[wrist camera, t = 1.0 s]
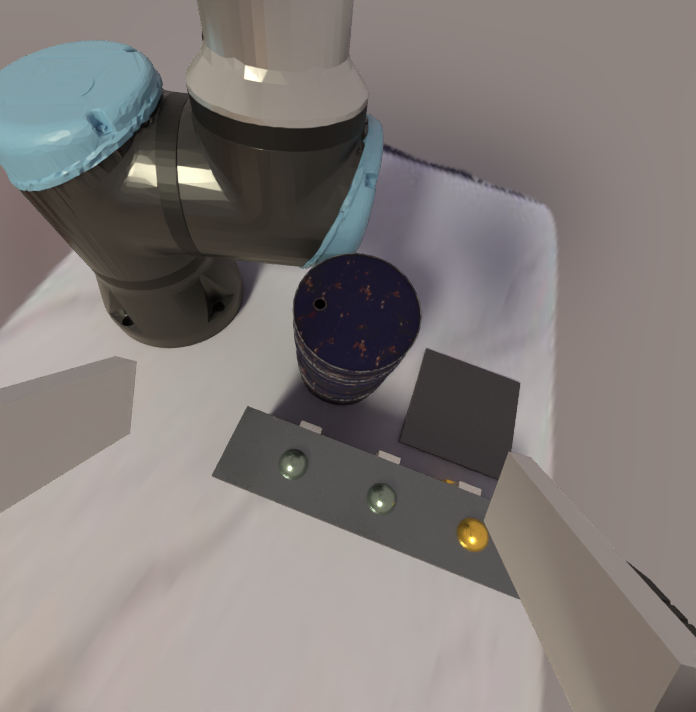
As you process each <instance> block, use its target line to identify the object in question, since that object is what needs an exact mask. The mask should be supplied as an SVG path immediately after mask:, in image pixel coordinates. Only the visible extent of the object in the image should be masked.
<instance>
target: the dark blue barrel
mask: <svg viewBox="0 0 696 712" xmlns="http://www.w3.org/2000/svg"><path fill="white" fill-rule="evenodd" d="M420 325H421V307H420V302H419V298H418V296H417V293H416V291H415V289H414V287H413V285H412V284H411V282H410V281H409V280H408V278H407V277H406V276H405V275H404V274H403V273H402V272H401V271H400V270H399V269H397V268H396V267H395V266H393V265H392V264H390V263H388V262H387V261H385V260H383V259H380V258H378V257H375V256H371V255H367V254H359V253H348V254H341V255H336V256H333V257H330V258H327V259H325V260H323V261H322V262H320V263H318V264H317V265H315V266H314V267H313V268H311V269H310V271H309V272H308V273H307V274H306V275H305V276H304V277H303V279H302V280H301V282H300V283H299V286H298V288H297V290H296V293H295V297H294V301H293V329H294V339H295V344H296V348H297V351H296V353H297V361H298V366H299V370H300V373H301V376H302V379H303V381H304V383H305V385H306V386H307V388H308V389H309V390H310V391H311V393H312V394H314V395H315V396H316V397H317V398H319V399H321V400H322V401H324V402H327V403H330V404H334V405H350V404H354V403H357V402H359V401H361V400H363V399H365V398H366V397H368V396H369V395H370V394H371V393H373V392H374V391H375V390H376V389H377V388H378V387H379V386H380V384H381V383H382V382H383V381H384V380H385V378H386V377H387V376H388V375H389V374H390V373H391V372H392V371H393V370H394V369H395V368H396V367H397V366H398V365H399V363H400V362H401V361H402V360H403V358H404V357H405V355H406V353H407V352H408V351H409V350H410V348H411V347H412V346H413V344H414V342H415V340H416V338H417V336H418V333H419V330H420Z"/></svg>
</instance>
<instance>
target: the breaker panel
mask: <svg viewBox="0 0 696 712" xmlns="http://www.w3.org/2000/svg"><path fill="white" fill-rule="evenodd" d="M519 390H520V383H518V382H516V381H513V380H510V379H507V378H505V377H502V376H499V375H496V374H494V373H491V372H488V371H485V370H483V369H480V368H477V367H474V366H472V365H469V364H466V363H463V362H461V361H458V360H455V359H453V358H450V357H447V356H444V355H442V354H439V353H436V352H433V351H431V350H428V349H426V350H425V354H424V357H423V361H422V364H421V368H420V371H419V375H418V378H417V381H416V385H415V388H414V392H413V395H412V399H411V402H410V406H409V409H408V413H407V416H406V420H405V423H404V427H403V430H402V434H401V437H400V441H399V442H401V443H404V444H406V445H409V446H412V447H414V448H417V449H420V450H422V451H425V452H427V453H430V454H433V455H435V456H438V457H440V458H443V459H446V460H448V461H451V462H454V463H456V464H459V465H461V466H464V467H467V468H469V469H472V470H474V471H477V472H480V473H482V474H485V475H488V476H490V477H493V478H495V479H498V480H499V477H500V474H501V472H502V469H503V466H504V463H505V461H506V458H507V455H508V452H511V449H512V441H513V434H514V427H515V419H516V412H517V404H518V397H519ZM321 434H322V428H321V427H318V426H316V425H313V424H310V423H308V422H305V421H303V420H302V421H301V423H300V426H298V425H295V424H293V423H290V422H287V421H285V420H282V419H280V418H277V417H275V416H272V415H269V414H267V413H264V412H262V411H259V410H256V409H254V408H251V407H249V406H247V408H246V410H245V412H244V414H243V416H242V418H241V420H240V422H239V424H238V425H237V427H236V429H235V431H234V433H233V435H232V437H231V439H230V441H229V443H228V445H227V447H226V449H225V451H224V453H223V455H222V457H221V459H220V461H219V463H218V464H217V466H216V468H215V470H214V472H213V474H212V476H213V477H215V478H217V479H220V480H222V481H224V482H227V483H229V484H232V485H234V486H236V487H239V488H241V489H244V490H246V491H249V492H251V493H254V494H256V495H259V496H261V497H264V498H266V499H269V500H271V501H274V502H276V503H279V504H281V505H284V506H286V507H289V508H291V509H294V510H296V511H299V512H301V513H304V514H306V515H309V516H311V517H314V518H316V519H319V520H321V521H324V522H326V523H329V524H331V525H334V526H336V527H339V528H341V529H344V530H346V531H349V532H351V533H354V534H356V535H359V536H361V537H364V538H366V539H369V540H371V541H374V542H376V543H379V544H381V545H384V546H386V547H389V548H391V549H394V550H396V551H399V552H401V553H404V554H406V555H409V556H411V557H414V558H416V559H419V560H421V561H424V562H426V563H429V564H431V565H434V566H436V567H439V568H441V569H444V570H446V571H449V572H451V573H454V574H456V575H459V576H461V577H464V578H466V579H469V580H471V581H474V582H476V583H479V584H481V585H484V586H486V587H489V588H491V589H494V590H497V591H499V592H502V593H504V594H507V595H509V596H512V597H515V598H517V599H520V597H519V595H518V593H517V591H516V589H515V587H514V585H513V582H512V580H511V578H510V576H509V574H508V572H507V570H506V568H505V565H504V563H503V561H502V559H501V557H500V555H499V553H498V551H497V548H496V546H495V544H494V542H493V540H492V538H491V536H490V533H489V531H488V529H487V527H486V525H485V523H484V518H485V516H486V513H487V510H488V507H489V505H490V502H491V500H490V499H487V498H485V497H482V496H481V490H482V489H479V488H477V487H474V486H472V485H469V484H466V483H464V482H461V481H458V482H453V481H451V480H448V479H446V480H442V481H440V480H438V479H435V478H433V477H430V476H427V475H425V474H422V473H420V472H417V471H415V470H412V469H409V468H407V467H404V466H402V465H399V464H400V460H401V458H399V457H396V456H394V455H391V454H388V453H386V452H383V451H381V450H379V451H378V452H377V453H376V454H375V455H373V454H370V453H368V452H365V451H363V450H360V449H357V448H355V447H352V446H350V445H347V444H345V443H342V442H339V441H337V440H334V439H332V438H329V437H326V436H324V435H321Z"/></svg>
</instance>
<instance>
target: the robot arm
mask: <svg viewBox="0 0 696 712" xmlns="http://www.w3.org/2000/svg"><path fill="white" fill-rule="evenodd" d="M353 2H354V0H197V4H198V10H199V15H200V21H201V26H202V32H203V37H204V39H203V43H202V46H201V48H200V50H199V51H198V53H197V54H196V56H195V57H194V59H193V60H192V62H191V63H190V65H189V66H188V68H187V70H186V72H185V80H186V87H187V91H188V94H187V93H179V92H172V91H167V90H164V89H163V88H162V85H163V83H162V79H161V76H160V74H159V73H158V71H157V70H155V68H154V66H153V64H152V63H151V61H150V60H149V59H148V58H147V57H146V56H145V55H144V54H143V53H141V52H138V51H137V50H136V49H134V48H132V47H131V46H129V45H126V44H122V43H118V42H112V41H104V40H102V41H100V40H96V41H95V40H94V41H93V40H92V41H78V42H71V43H65V44H60V45H56V46H52V47H49V48H45V49H42V50H39V51H37V52H34V53H32V54H29V55H26V56H24V57H22V58H20V59H18V60H16V61H14V62H13V63H11V64H9V65H8V66H6V67H5V68H3V69H2V70H0V165H1V166H2V167H3V168H4V169H5V171H6V172H7V176H8V178H9V179H10V182H11V183H12V184H13V185H14V186H15V187H16V188H17V189H19V190H20V191H21V192H22V193H23V195H24V196H25V197H26V198H27V199H28V200H29V201H30V202H31V203H32V204H33V206H34V207H35V208H36V209H37V210H38V211H39V212H40V213H41V214H42V215H43V216H44V218H45V219H46V220H47V221H48V222H49V223H50V224H51V225H52V226H53V227H54V228H55V230H56V231H57V232H58V233H59V234H60V235H61V236H62V237H63V238H64V240H65V241H66V242H67V243H68V244H69V245H70V246H71V247H72V248H73V249H74V251H75V252H76V253H77V254H78V255H79V256H80V257H81V258H82V259H83V260H84V262H85V263H86V264H87V265H88V266H89V267H90V268H91V269H92V270H93V271H94V273H95V275H96V278H97V282H98V285H99V288H100V292H101V295H102V299H103V302H104V305H105V308H106V310H107V312H108V313H109V315H110V317H111V318H112V319H113V321H114V322H115V323H116V324H117V325H118V326H119V327H120V328H121V329H122V330H123V331H124V332H125V333H126V334H127V335H129V336H130V337H132V338H133V339H135V340H137V341H139V342H141V343H143V344H146V345H150V346H154V347H161V348H178V347H185V346H190V345H193V344H196V343H199V342H202V341H204V340H206V339H208V338H210V337H212V336H214V335H215V334H217V333H218V332H220V331H221V330H222V329H223V328H225V327H226V326H227V325H228V324H229V323H230V321H231V320H232V319H233V318H234V316H235V315H236V313H237V311H238V310H239V307H240V305H241V302H242V298H243V283H242V278H241V275H240V271H239V268H238V266H237V263H236V262H235V260H240V261H250V262H260V263H270V264H279V265H289V266H299V267H300V268H303V269H304V268H309V267H311V266H312V267H314V266H315V265H317V264H318V263H320V262H322V261H323V260H325V259H327V258H330V257H333V256H336V255H341V254H348V253H356V252H357V250H358V248H359V246H360V244H361V241H362V239H363V236H364V233H365V230H366V227H367V224H368V221H369V217H370V214H371V210H372V206H373V202H374V197H375V193H376V190H375V184H376V182H377V179H378V175H379V171H380V167H381V161H382V153H383V128H382V124H381V122H380V121H379V120H377V119H375V118H374V117H373V116H372V115H371V114H366V112H367V104H368V96H369V91H368V87H367V84H366V82H365V81H364V79H363V78H362V76H361V74H360V73H359V71H358V69H357V68H356V66H355V64H354V63H353V61H352V60H351V57H350V54H349V49H350V38H351V26H352V15H353ZM136 364H137V361H133V360H129V359H124V358H120V357H116V356H115V357H111V358H108V359H104V360H101V361H97V362H94V363H90V364H87V365H83V366H79V367H76V368H72V369H69V370H65V371H62V372H58V373H54V374H51V375H47V376H44V377H40V378H37V379H33V380H30V381H26V382H22V383H19V384H15V385H12V386H8V387H5V388H1V389H0V513H1V512H3V511H4V510H6V509H8V508H9V507H11V506H12V505H14V504H16V503H17V502H19V501H21V500H22V499H24V498H25V497H27V496H29V495H30V494H32V493H34V492H35V491H37V490H38V489H40V488H42V487H43V486H45V485H47V484H48V483H50V482H51V481H53V480H55V479H56V478H58V477H60V476H61V475H63V474H64V473H66V472H68V471H69V470H71V469H73V468H74V467H76V466H77V465H79V464H81V463H82V462H84V461H86V460H87V459H89V458H90V457H92V456H94V455H95V454H97V453H99V452H100V451H102V450H103V449H105V448H107V447H108V446H110V445H112V444H113V443H115V442H117V441H118V440H120V439H121V438H123V437H125V436H126V435H128V434H130V427H131V416H132V406H133V395H134V385H135V374H136ZM484 523H485V525H486V527H487V529H488V531H489V533H490V536H491V538H492V540H493V542H494V544H495V546H496V548H497V551H498V553H499V555H500V557H501V559H502V561H503V563H504V565H505V568H506V570H507V572H508V574H509V576H510V578H511V580H512V582H513V585H514V587H515V589H516V591H517V593H518V595H519V597H520V600H521V602H522V604H523V606H524V608H525V610H526V612H527V614H528V617H529V619H530V621H531V623H532V625H533V627H534V629H535V632H536V634H537V636H538V638H539V640H540V642H541V644H542V646H543V649H544V651H545V653H546V655H547V657H548V659H549V661H550V663H551V666H552V668H553V670H554V672H555V674H556V676H557V678H558V681H559V683H560V685H561V687H562V689H563V691H564V693H565V695H566V698H567V700H568V702H569V704H570V706H571V708H572V710H573V712H696V628H695V627H694V626H693V625H691V624H688V620H687V618H685V616H684V615H683V614H682V613H681V612H680V611H679V610H678V609H677V608H676V607H675V606H673V605H671V604H670V600H669V599H668V598H667V597H666V596H665V595H664V594H663V593H662V592H661V591H660V590H659V589H658V588H657V587H656V585H655V584H654V583H653V582H652V581H651V580H650V579H649V578H647V577H646V576H645V575H643V574H642V573H641V572H640V571H638V570H637V569H636V568H635V567H633V566H632V565H631V564H630V563H628V562H627V561H626V560H624V559H623V557H622V556H621V555H620V554H619V553H618V552H617V551H616V550H615V549H614V548H613V546H612V545H611V544H610V543H609V542H608V541H607V540H606V539H605V538H604V537H603V536H602V534H601V533H600V532H599V531H598V530H597V529H596V528H595V527H594V526H593V525H592V524H591V522H590V521H589V520H588V519H587V518H586V517H585V516H584V515H583V514H582V513H581V511H580V510H579V509H578V508H577V507H576V506H575V505H574V504H573V503H572V502H571V501H570V500H569V498H568V497H567V496H566V495H565V494H564V493H563V492H562V491H561V490H560V489H559V487H558V486H557V485H556V484H555V483H554V482H553V481H552V480H551V479H550V478H549V477H548V475H547V474H546V473H545V472H544V471H543V470H542V469H541V468H540V467H539V466H538V464H537V463H536V462H535V461H534V460H533V459H532V458H531V457H528V456H523V455H519V454H515V453H511V452H508V455H507V458H506V461H505V463H504V466H503V469H502V472H501V474H500V477H499V480H498V483H497V485H496V488H495V491H494V494H493V496H492V499H491V502H490V505H489V507H488V510H487V513H486V516H485V518H484Z"/></svg>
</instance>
